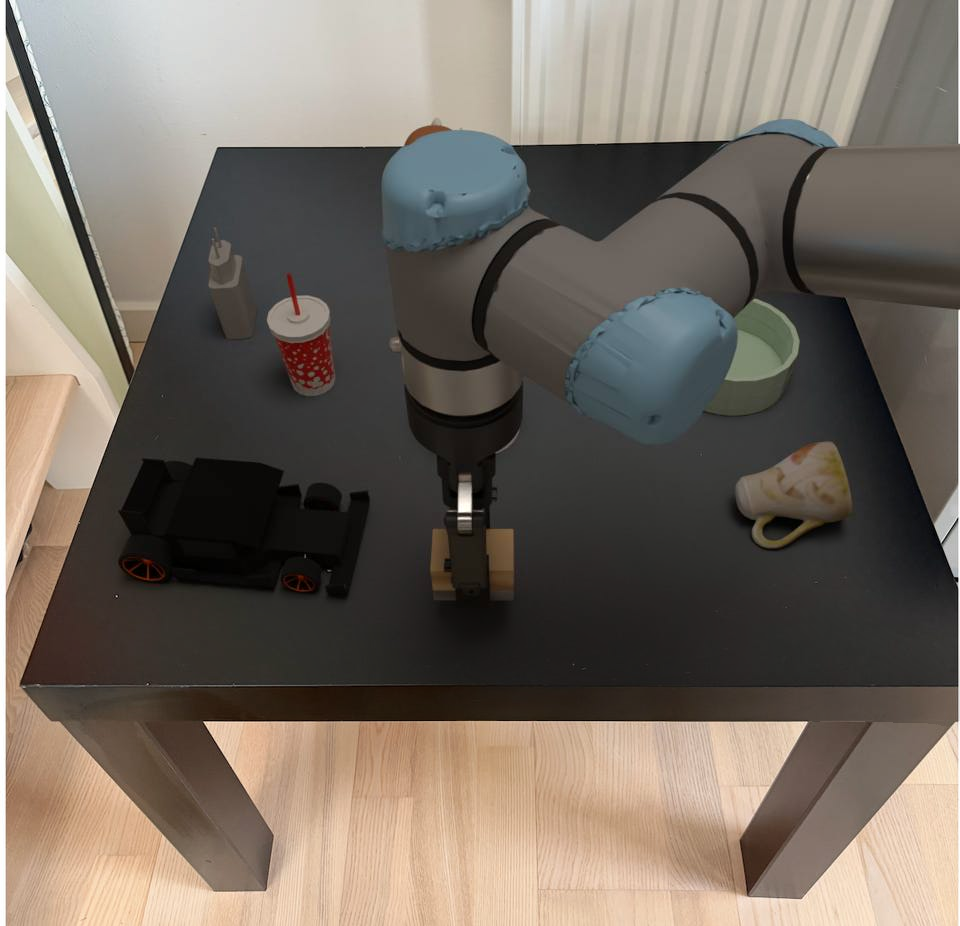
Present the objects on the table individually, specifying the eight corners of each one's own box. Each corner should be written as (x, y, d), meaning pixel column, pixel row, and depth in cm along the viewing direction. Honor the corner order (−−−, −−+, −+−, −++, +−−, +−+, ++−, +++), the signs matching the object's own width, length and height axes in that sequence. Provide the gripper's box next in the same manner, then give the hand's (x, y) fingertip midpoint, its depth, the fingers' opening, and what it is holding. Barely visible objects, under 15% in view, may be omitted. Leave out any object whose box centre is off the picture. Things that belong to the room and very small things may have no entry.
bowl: (813, 379, 93) (826, 343, 90) (725, 435, 89) (735, 400, 85) (723, 313, 100) (731, 277, 96) (636, 362, 96) (642, 327, 92)
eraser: (513, 559, 76) (513, 528, 73) (513, 600, 74) (513, 570, 70) (436, 559, 76) (432, 528, 73) (433, 600, 74) (430, 570, 70)
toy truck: (347, 600, 78) (335, 553, 72) (126, 580, 80) (97, 533, 74) (371, 504, 85) (361, 453, 79) (166, 487, 87) (142, 437, 81)
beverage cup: (332, 405, 93) (309, 299, 82) (276, 397, 94) (245, 292, 83) (350, 364, 97) (330, 257, 86) (295, 357, 98) (269, 250, 87)
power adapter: (257, 305, 103) (232, 216, 94) (252, 338, 100) (225, 249, 90) (230, 307, 103) (202, 218, 94) (224, 339, 100) (194, 250, 90)
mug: (713, 485, 85) (778, 404, 80) (797, 520, 88) (865, 445, 82) (729, 537, 79) (800, 454, 74) (819, 574, 82) (894, 496, 76)
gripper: (412, 289, 62) (433, 495, 80) (392, 485, 51) (422, 672, 70) (521, 288, 62) (518, 495, 80) (525, 485, 51) (520, 673, 69)
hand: (474, 577), depth 75 cm, fingers closed on eraser, 4 cm apart
